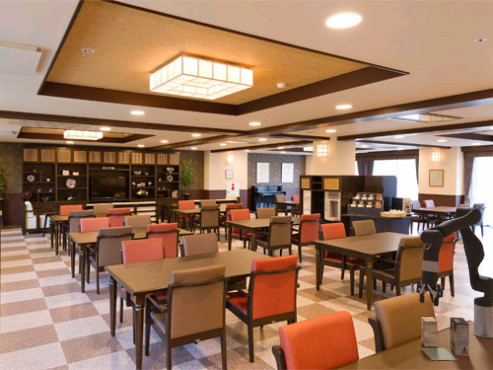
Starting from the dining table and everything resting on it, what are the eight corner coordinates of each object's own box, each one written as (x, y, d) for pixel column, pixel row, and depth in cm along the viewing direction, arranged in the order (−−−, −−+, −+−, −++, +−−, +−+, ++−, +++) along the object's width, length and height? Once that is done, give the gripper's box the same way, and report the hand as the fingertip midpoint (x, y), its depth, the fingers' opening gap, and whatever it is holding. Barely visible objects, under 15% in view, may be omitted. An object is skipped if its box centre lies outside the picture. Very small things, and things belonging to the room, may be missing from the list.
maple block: (421, 343, 202) (421, 317, 201) (432, 343, 201) (432, 317, 201) (425, 347, 197) (425, 320, 196) (437, 347, 196) (437, 320, 196)
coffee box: (449, 347, 197) (449, 316, 196) (463, 348, 195) (462, 317, 195) (455, 355, 188) (455, 323, 187) (469, 356, 186) (469, 324, 186)
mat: (420, 348, 196) (420, 347, 196) (444, 348, 195) (444, 347, 195) (432, 360, 183) (432, 359, 183) (457, 360, 182) (457, 359, 182)
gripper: (448, 272, 180) (446, 307, 178) (425, 269, 194) (423, 302, 191) (435, 271, 178) (434, 306, 175) (413, 268, 191) (411, 301, 189)
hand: (428, 304), depth 183 cm, fingers open, 8 cm apart
